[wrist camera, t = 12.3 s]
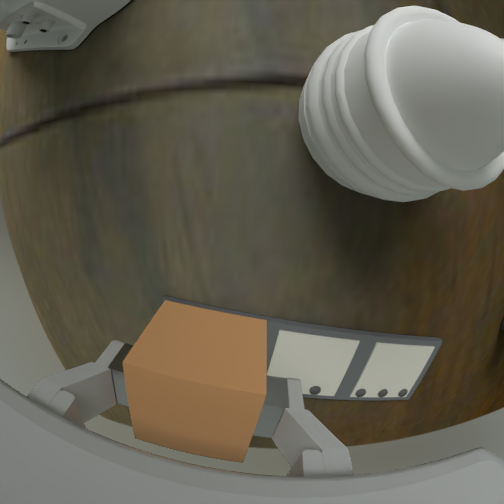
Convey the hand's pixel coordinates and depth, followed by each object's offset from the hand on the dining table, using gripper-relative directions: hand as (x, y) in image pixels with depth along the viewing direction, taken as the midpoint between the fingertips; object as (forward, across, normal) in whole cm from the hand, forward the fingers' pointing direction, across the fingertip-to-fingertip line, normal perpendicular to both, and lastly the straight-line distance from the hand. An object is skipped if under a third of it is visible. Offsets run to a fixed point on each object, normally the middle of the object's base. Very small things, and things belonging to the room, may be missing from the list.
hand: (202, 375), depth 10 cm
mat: (+15, -9, +10) cm, 20 cm away
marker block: (+2, 0, 0) cm, 2 cm away
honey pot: (+15, -9, -14) cm, 22 cm away
